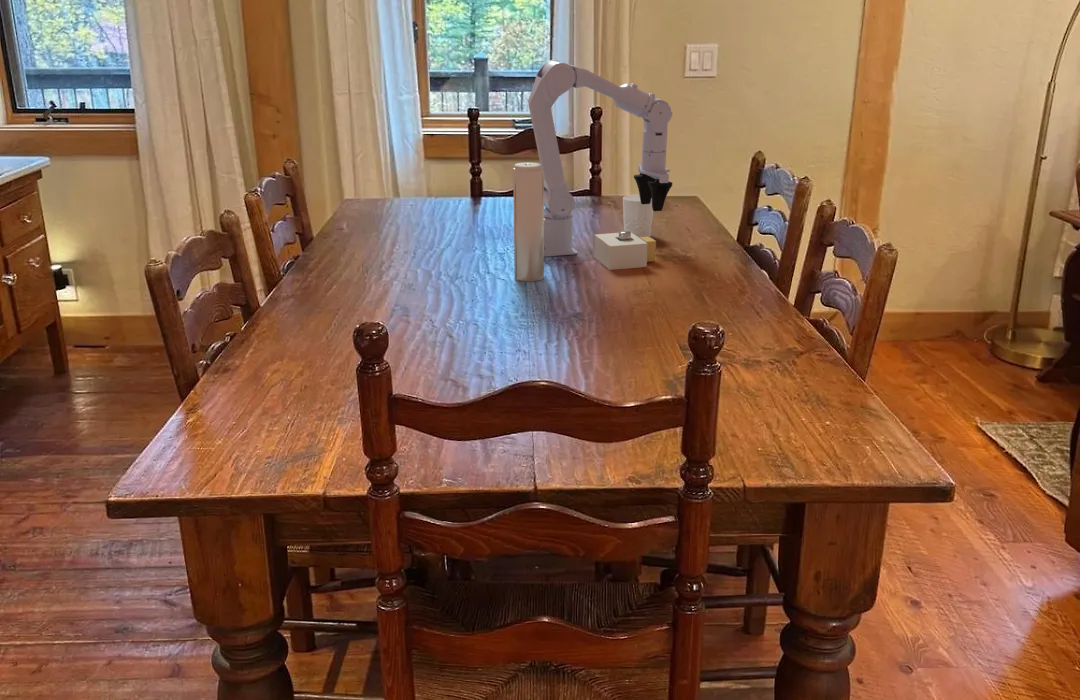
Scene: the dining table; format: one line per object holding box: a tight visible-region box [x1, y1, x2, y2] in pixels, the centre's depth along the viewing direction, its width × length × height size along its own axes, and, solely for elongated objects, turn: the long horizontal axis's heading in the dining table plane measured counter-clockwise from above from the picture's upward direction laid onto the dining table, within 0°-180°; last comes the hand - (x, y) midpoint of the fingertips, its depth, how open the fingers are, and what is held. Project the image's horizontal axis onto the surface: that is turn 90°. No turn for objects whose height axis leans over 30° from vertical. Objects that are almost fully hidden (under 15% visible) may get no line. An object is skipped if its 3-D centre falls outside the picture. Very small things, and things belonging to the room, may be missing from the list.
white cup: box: [622, 194, 654, 237], centre depth 239 cm, size 8×8×10 cm
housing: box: [593, 232, 648, 271], centre depth 217 cm, size 9×11×6 cm
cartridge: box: [639, 236, 657, 263], centre depth 218 cm, size 10×4×5 cm, turn 105°
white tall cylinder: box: [512, 161, 545, 283], centre depth 202 cm, size 6×6×25 cm
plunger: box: [618, 230, 631, 241], centre depth 217 cm, size 3×3×2 cm
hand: (651, 207), depth 228 cm, fingers open, 7 cm apart
